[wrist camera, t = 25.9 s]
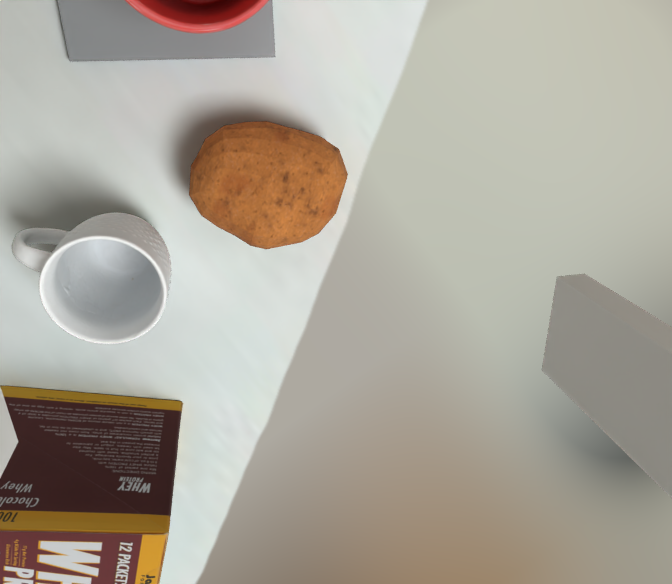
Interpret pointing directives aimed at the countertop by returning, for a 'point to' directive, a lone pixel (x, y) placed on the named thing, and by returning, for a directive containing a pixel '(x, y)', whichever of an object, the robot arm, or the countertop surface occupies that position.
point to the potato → (267, 182)
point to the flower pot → (198, 13)
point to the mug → (100, 276)
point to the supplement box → (87, 487)
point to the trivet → (156, 35)
